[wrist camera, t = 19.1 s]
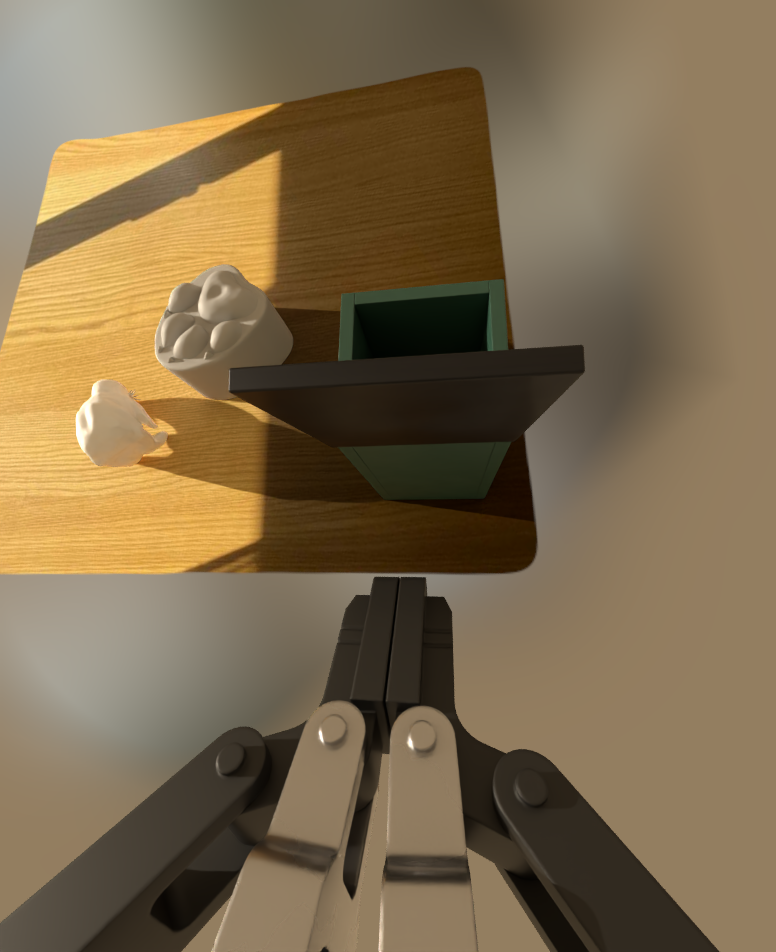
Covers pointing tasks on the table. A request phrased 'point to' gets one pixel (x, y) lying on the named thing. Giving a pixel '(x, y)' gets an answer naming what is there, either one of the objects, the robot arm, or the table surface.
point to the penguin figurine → (115, 427)
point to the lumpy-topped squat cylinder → (219, 331)
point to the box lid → (414, 395)
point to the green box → (414, 334)
